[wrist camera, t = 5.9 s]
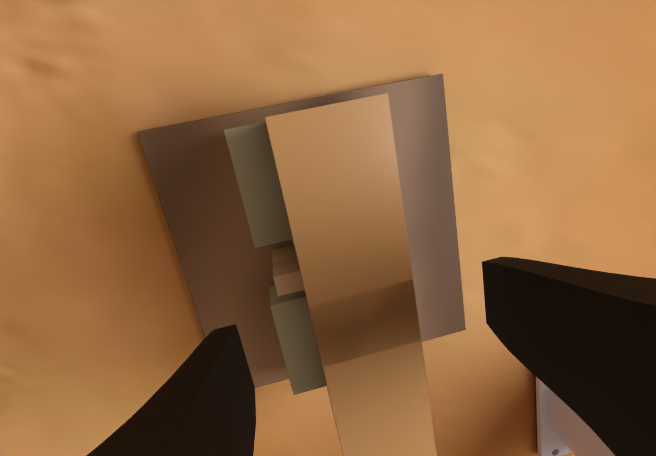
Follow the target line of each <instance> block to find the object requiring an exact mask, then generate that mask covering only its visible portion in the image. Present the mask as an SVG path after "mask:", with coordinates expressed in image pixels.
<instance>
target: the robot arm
mask: <svg viewBox="0 0 656 456" xmlns="http://www.w3.org/2000/svg"><path fill="white" fill-rule="evenodd" d="M482 268H483V282H484V296H485V310H486V323H487V324H488V326H489V327H490V328H491V329H492V331H493V332H494V333H495V335H496V336H497V337H498V338H499V340H500V341H501V342H502V343H503V344H504V346H505V347H506V348H507V349H508V350H509V351H510V352H511V353H512V354H513V355H514V356H515V357H516V358H517V359H518V360H519V361H520V362H521V363H522V364H523V365H524V366H525V367H527V368H528V369H529V370H530V371H531V372H532V373H533V374H534V375H535V376H536V402H537V441H538V454H539V456H562V455H565V454H568V453H571V452H573V453H574V454H575V455H576V456H656V279H654V278H645V277H636V276H629V275H621V274H614V273H607V272H600V271H594V270H587V269H581V268H575V267H570V266H564V265H558V264H552V263H546V262H540V261H534V260H528V259H521V258H512V257H499V258H495V259H491V260H487V261H483V262H482ZM255 426H256V408H255V386H254V383H253V379H252V376H251V373H250V369H249V366H248V363H247V359H246V356H245V352H244V349H243V346H242V342H241V339H240V336H239V332H238V329H237V326H236V324H234V325H230V326H226V327H222V328H218V329H214V330H213V331H212V332H210V333H209V335H208V336H207V337H206V338H205V339H204V340H203V341H202V342H201V343H200V345H199V346H198V347H197V348H196V349H195V350H194V352H193V353H192V354H191V355H190V356H189V357H188V358H187V360H186V361H185V362H184V363H183V364H182V365H181V366H180V367H179V369H178V370H177V371H176V372H175V373H174V374H173V375H172V376H171V377H170V378H169V380H168V381H167V382H166V383H165V384H164V385H163V386H162V387H161V388H160V389H159V390H158V391H157V392H156V393H155V394H154V395H153V396H152V397H151V398H150V399H149V400H148V401H147V402H146V403H145V404H144V405H143V406H142V407H141V408H140V409H139V410H138V411H137V412H136V413H135V414H134V415H133V416H132V417H131V418H130V419H129V420H128V421H126V422H125V423H124V424H123V425H122V426H121V427H120V428H119V429H117V430H116V431H115V432H114V433H113V434H112V435H111V436H109V437H108V438H107V439H106V440H105V441H104V442H103V443H101V444H100V445H99V446H98V447H97V448H95V449H94V450H93V451H92V452H91V453H89V454H88V455H87V456H253V451H254V439H255Z"/></svg>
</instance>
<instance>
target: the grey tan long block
mask: <svg viewBox="0 0 656 456" xmlns="http://www.w3.org/2000/svg"><path fill="white" fill-rule="evenodd" d="M265 124H266V129H267V133H268V137H269V141H270V146H271V150H272V154H273V159H274V163H275V167H276V171H277V176H278V180H279V184H280V189H281V193H282V197H283V201H284V206H285V210H286V214H287V219H288V223H289V227H290V231H291V236H292V240H293V244H294V249H295V253H296V257H297V261H298V265H299V269H300V273H301V277H302V282H303V286H304V290H305V296H306V300H307V304H308V309H309V313H310V317H311V321H312V326H313V330H314V334H315V339H316V343H317V347H318V351H319V356H320V360H321V364H322V369H323V373H324V377H325V381H326V386H327V390H328V394H329V398H330V402H331V407H332V411H333V415H334V419H335V423H336V427H337V431H338V436H339V440H340V444H341V448H342V452H343V456H437V453H436V446H435V438H434V431H433V424H432V416H431V409H430V401H429V394H428V387H427V379H426V372H425V364H424V357H423V350H422V342H421V335H420V327H419V320H418V313H417V305H416V298H415V290H414V283H413V276H412V268H411V261H410V253H409V246H408V239H407V231H406V224H405V216H404V209H403V202H402V194H401V187H400V179H399V172H398V165H397V157H396V150H395V142H394V135H393V128H392V120H391V113H390V105H389V98H388V93H386V94H381V95H375V96H370V97H365V98H360V99H355V100H350V101H345V102H340V103H335V104H330V105H325V106H320V107H314V108H309V109H304V110H299V111H294V112H289V113H284V114H279V115H274V116H269V117H265Z"/></svg>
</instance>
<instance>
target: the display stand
mask: <svg viewBox="0 0 656 456" xmlns="http://www.w3.org/2000/svg"><path fill="white" fill-rule="evenodd" d="M386 93H388V98H389V105H390V113H391V120H392V128H393V135H394V142H395V150H396V157H397V165H398V172H399V179H400V187H401V194H402V202H403V209H404V216H405V224H406V231H407V239H408V246H409V253H410V261H411V268H412V276H413V283H414V290H415V298H416V305H417V313H418V320H419V327H420V335H421V342H423V341H426V340H430V339H434V338H437V337H441V336H445V335H448V334H452V333H455V332H459V331H463V330H466V328H465V317H464V306H463V295H462V284H461V272H460V261H459V250H458V239H457V228H456V216H455V205H454V194H453V183H452V172H451V160H450V149H449V138H448V127H447V116H446V104H445V93H444V82H443V74H438V75H433V76H427V77H422V78H417V79H412V80H406V81H401V82H396V83H391V84H385V85H380V86H375V87H370V88H364V89H359V90H354V91H349V92H343V93H338V94H333V95H328V96H322V97H317V98H312V99H307V100H301V101H296V102H291V103H286V104H280V105H275V106H270V107H265V108H259V109H254V110H249V111H244V112H238V113H233V114H228V115H223V116H217V117H212V118H207V119H201V120H196V121H191V122H186V123H180V124H175V125H170V126H165V127H159V128H154V129H149V130H144V131H138V132H137V133H138V136H139V139H140V142H141V145H142V148H143V151H144V154H145V157H146V160H147V163H148V166H149V169H150V172H151V175H152V178H153V181H154V184H155V187H156V190H157V193H158V196H159V199H160V202H161V205H162V208H163V211H164V214H165V217H166V220H167V224H168V227H169V230H170V233H171V236H172V239H173V242H174V245H175V248H176V251H177V254H178V257H179V260H180V263H181V266H182V269H183V272H184V275H185V278H186V281H187V284H188V287H189V290H190V293H191V296H192V299H193V302H194V305H195V308H196V311H197V314H198V317H199V320H200V323H201V326H202V329H203V332H204V335H205V338H206V337H207V336H208V335H209V333H210V332H212V331H213V330H214V329H218V328H222V327H226V326H230V325H234V324H236V326H237V329H238V332H239V336H240V339H241V342H242V346H243V349H244V352H245V356H246V359H247V363H248V366H249V369H250V373H251V376H252V379H253V383H254V386H255V388H256V387H259V386H263V385H267V384H270V383H274V382H277V381H281V380H285V379H288V378H289V379H290V383H291V387H292V391H293V394H294V395H295V394H299V393H303V392H306V391H310V390H313V389H317V388H320V387H324V386H326V381H325V377H324V373H323V369H322V364H321V360H320V356H319V351H318V347H317V343H316V339H315V334H314V330H313V326H312V321H311V317H310V313H309V309H308V304H307V300H306V296H305V290H304V286H303V282H302V277H301V273H300V269H299V265H298V261H297V257H296V253H295V249H294V244H293V240H292V236H291V231H290V227H289V223H288V219H287V214H286V210H285V206H284V201H283V197H282V193H281V189H280V184H279V180H278V176H277V171H276V167H275V163H274V159H273V154H272V150H271V146H270V141H269V137H268V133H267V129H266V124H265V117H269V116H274V115H279V114H284V113H289V112H294V111H299V110H304V109H309V108H314V107H320V106H325V105H330V104H335V103H340V102H345V101H350V100H355V99H360V98H365V97H370V96H375V95H381V94H386Z"/></svg>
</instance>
